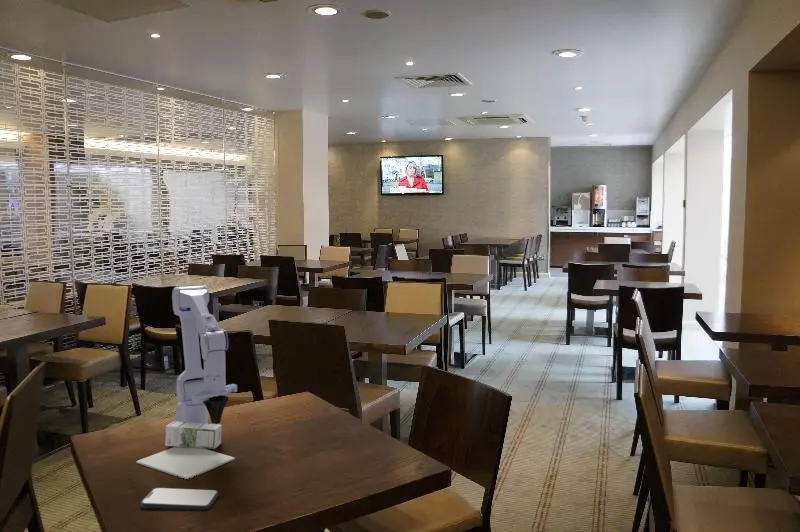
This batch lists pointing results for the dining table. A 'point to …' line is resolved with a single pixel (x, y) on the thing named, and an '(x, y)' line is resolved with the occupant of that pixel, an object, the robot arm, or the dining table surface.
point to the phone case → (179, 498)
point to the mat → (185, 461)
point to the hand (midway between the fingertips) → (215, 422)
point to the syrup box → (193, 435)
